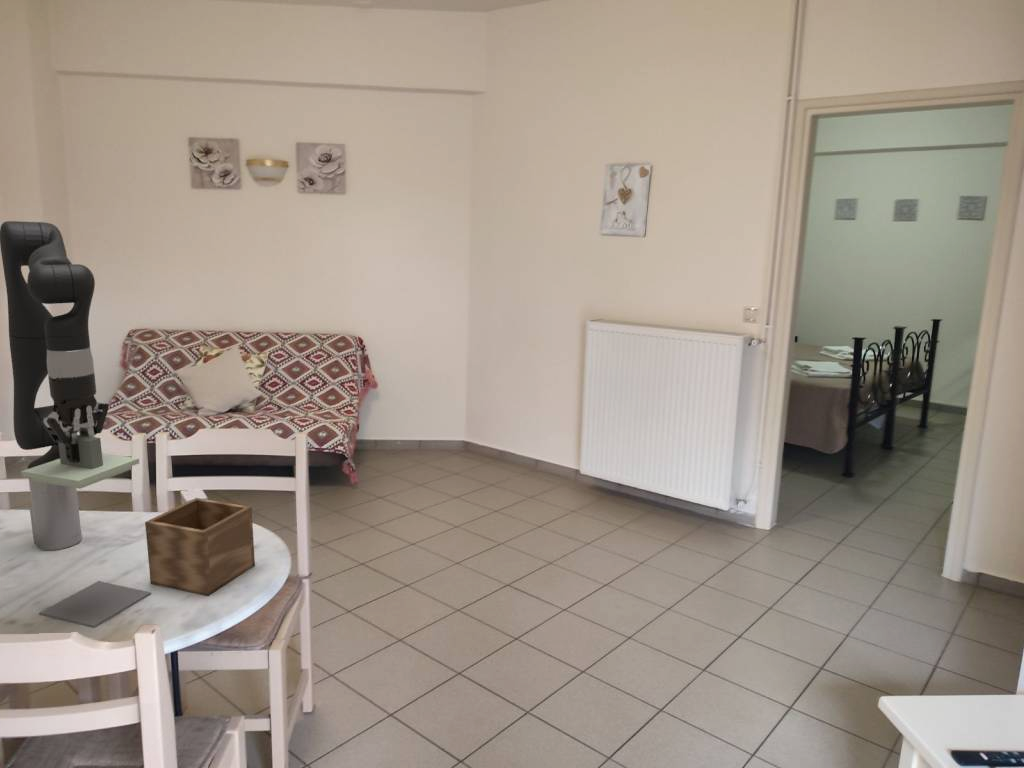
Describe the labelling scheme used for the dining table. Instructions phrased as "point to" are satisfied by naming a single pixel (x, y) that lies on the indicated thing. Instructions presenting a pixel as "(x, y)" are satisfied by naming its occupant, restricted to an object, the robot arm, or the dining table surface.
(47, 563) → the dining table surface
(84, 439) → the lid
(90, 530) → the dining table surface
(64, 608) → the mat
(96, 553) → the dining table surface
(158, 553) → the box
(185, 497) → the ink box
